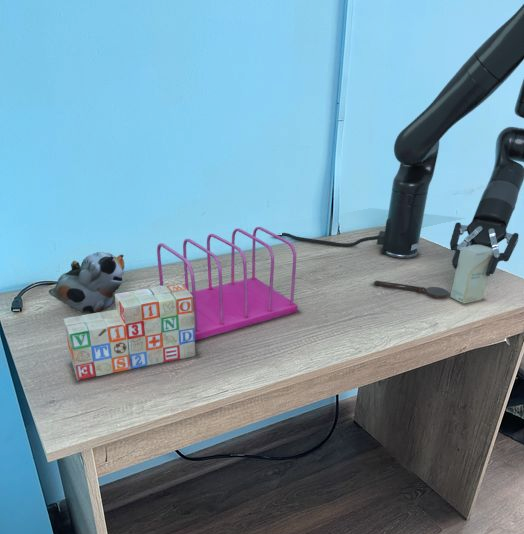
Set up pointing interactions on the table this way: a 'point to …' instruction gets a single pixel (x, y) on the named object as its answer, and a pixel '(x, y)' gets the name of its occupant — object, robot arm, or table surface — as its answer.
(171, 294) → the stack of blocks
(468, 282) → the cosmetic box
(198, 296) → the file sorter
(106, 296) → the lucky cat figurine
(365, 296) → the table surface
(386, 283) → the spoon
